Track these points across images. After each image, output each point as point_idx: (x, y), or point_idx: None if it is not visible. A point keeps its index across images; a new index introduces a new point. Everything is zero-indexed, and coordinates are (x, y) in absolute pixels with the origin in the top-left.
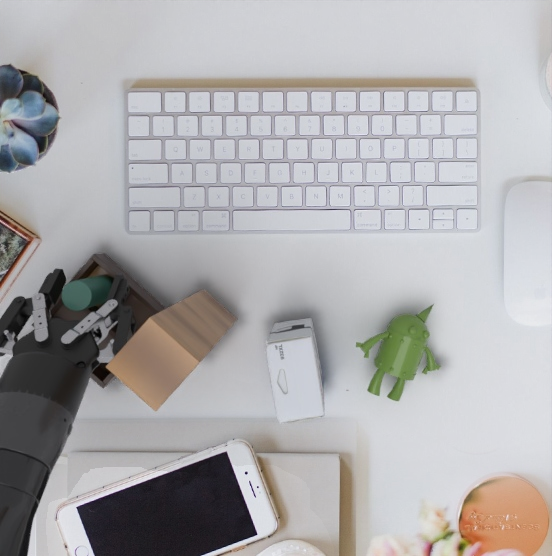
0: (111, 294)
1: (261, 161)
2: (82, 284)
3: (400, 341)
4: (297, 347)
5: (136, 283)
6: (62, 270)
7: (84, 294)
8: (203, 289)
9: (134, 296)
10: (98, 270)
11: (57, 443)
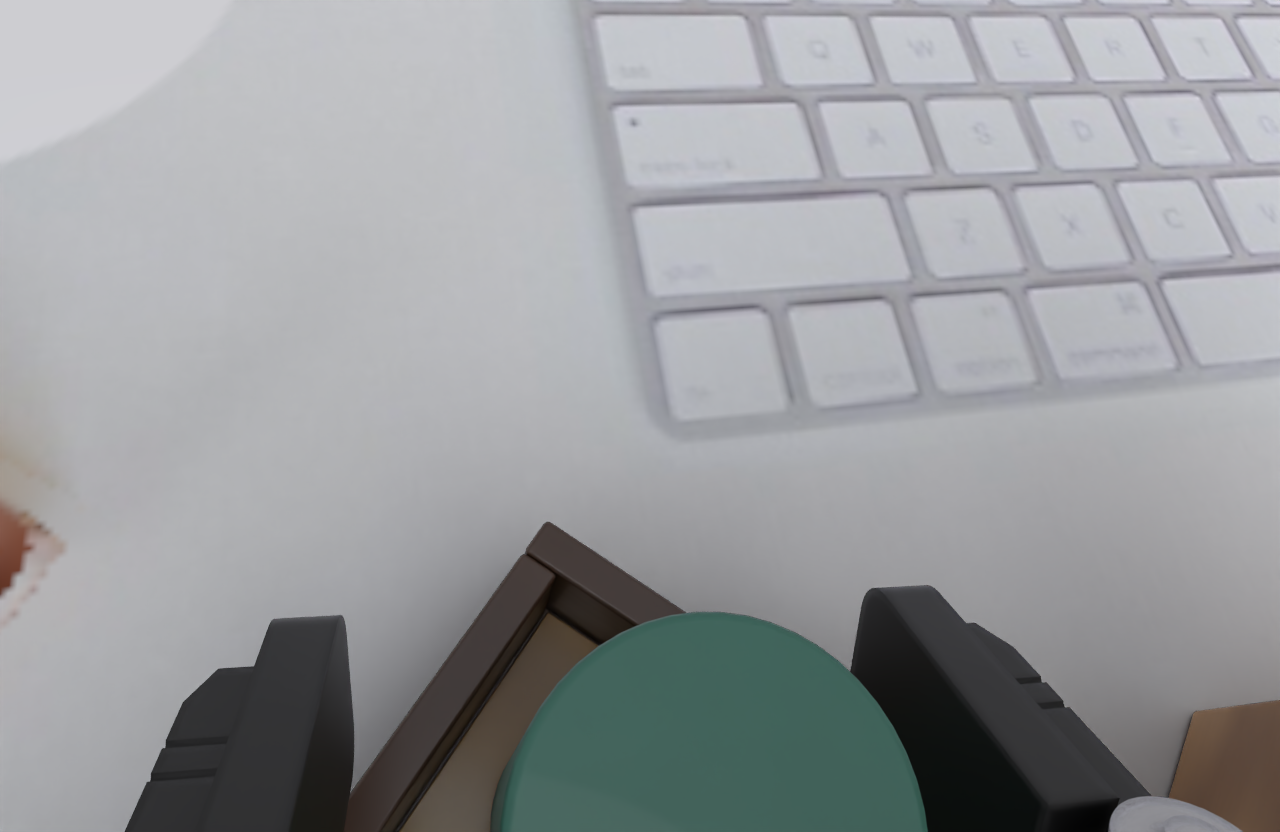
0: (1041, 753)
1: (1180, 87)
2: (768, 650)
3: None
4: None
5: None
6: (345, 637)
7: (827, 786)
8: (1209, 710)
9: None
10: (531, 685)
11: None
